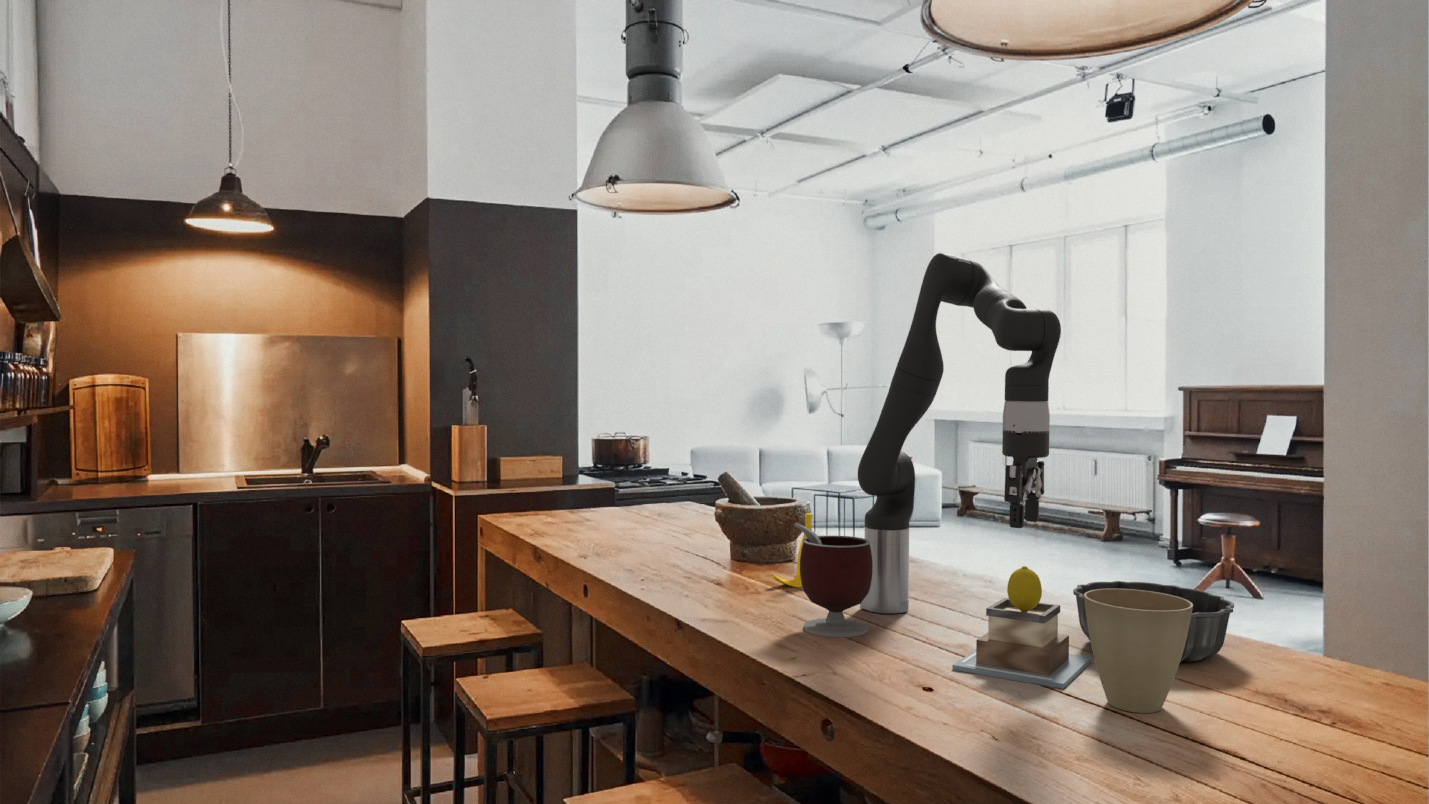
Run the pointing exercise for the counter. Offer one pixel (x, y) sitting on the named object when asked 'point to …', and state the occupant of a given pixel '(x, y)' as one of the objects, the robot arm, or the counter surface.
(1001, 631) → the block tower
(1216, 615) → the bundt pan
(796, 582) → the banana peel
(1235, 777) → the counter surface
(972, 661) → the board
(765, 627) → the counter surface
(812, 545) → the mate gourd
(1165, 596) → the plant pot
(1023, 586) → the lemon
